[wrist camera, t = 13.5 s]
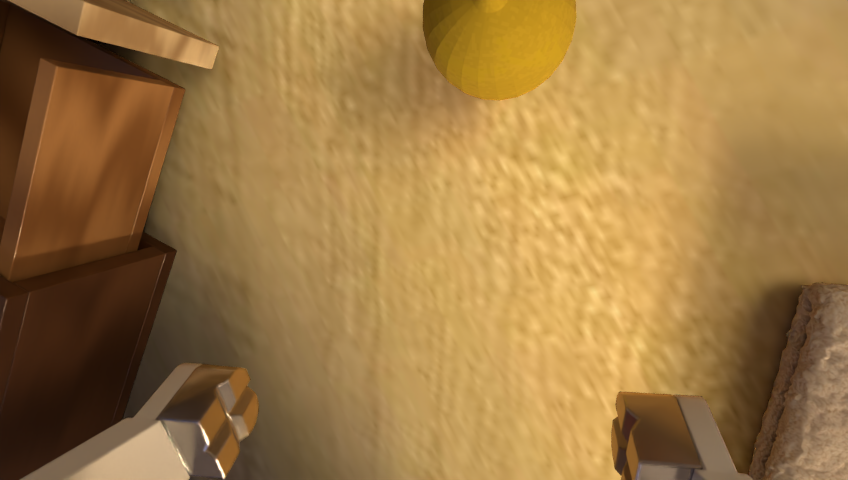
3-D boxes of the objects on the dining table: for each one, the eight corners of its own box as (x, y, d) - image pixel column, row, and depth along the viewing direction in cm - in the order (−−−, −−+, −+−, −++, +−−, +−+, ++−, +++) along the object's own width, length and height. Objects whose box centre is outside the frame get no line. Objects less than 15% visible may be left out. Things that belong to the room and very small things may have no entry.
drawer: (42, -173, 23) (-171, -314, 16) (257, -76, 22) (127, -185, 15) (-29, 197, 29) (-213, 213, 22) (141, 295, 27) (5, 346, 20)
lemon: (442, 107, 23) (397, 86, 15) (445, -18, 22) (399, -111, 14) (562, 108, 21) (580, 85, 14) (572, -25, 20) (598, -130, 13)
